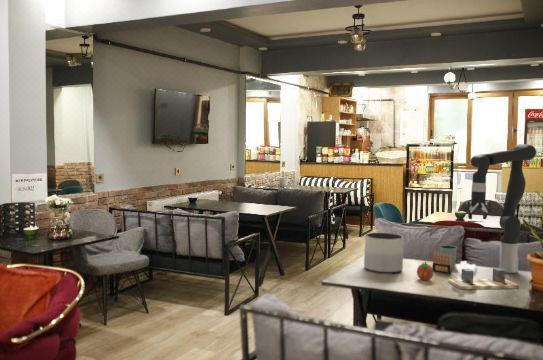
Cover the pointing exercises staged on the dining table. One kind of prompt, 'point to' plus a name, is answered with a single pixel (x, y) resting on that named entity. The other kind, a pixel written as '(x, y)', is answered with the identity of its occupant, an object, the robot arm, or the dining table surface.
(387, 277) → the dining table surface
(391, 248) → the planter
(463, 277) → the slider
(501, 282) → the gauge board
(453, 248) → the grey cup
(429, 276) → the fruit
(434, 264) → the ammunition clip
